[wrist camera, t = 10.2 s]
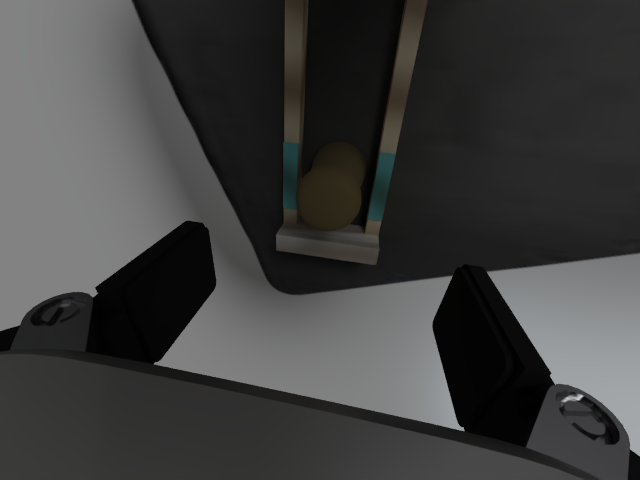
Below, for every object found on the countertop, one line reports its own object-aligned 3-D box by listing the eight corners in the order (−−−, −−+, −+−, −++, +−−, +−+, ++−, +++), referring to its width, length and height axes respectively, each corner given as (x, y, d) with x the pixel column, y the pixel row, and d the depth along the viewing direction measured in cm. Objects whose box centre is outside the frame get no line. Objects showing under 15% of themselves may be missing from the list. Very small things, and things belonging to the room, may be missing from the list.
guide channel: (293, -144, 19) (271, -216, 14) (453, -145, 18) (482, -223, 13) (287, 230, 33) (276, 250, 29) (374, 242, 32) (375, 265, 28)
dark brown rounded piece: (310, 193, 31) (286, 238, 21) (312, 138, 28) (284, 161, 18) (362, 198, 30) (361, 247, 20) (370, 143, 27) (373, 169, 17)
